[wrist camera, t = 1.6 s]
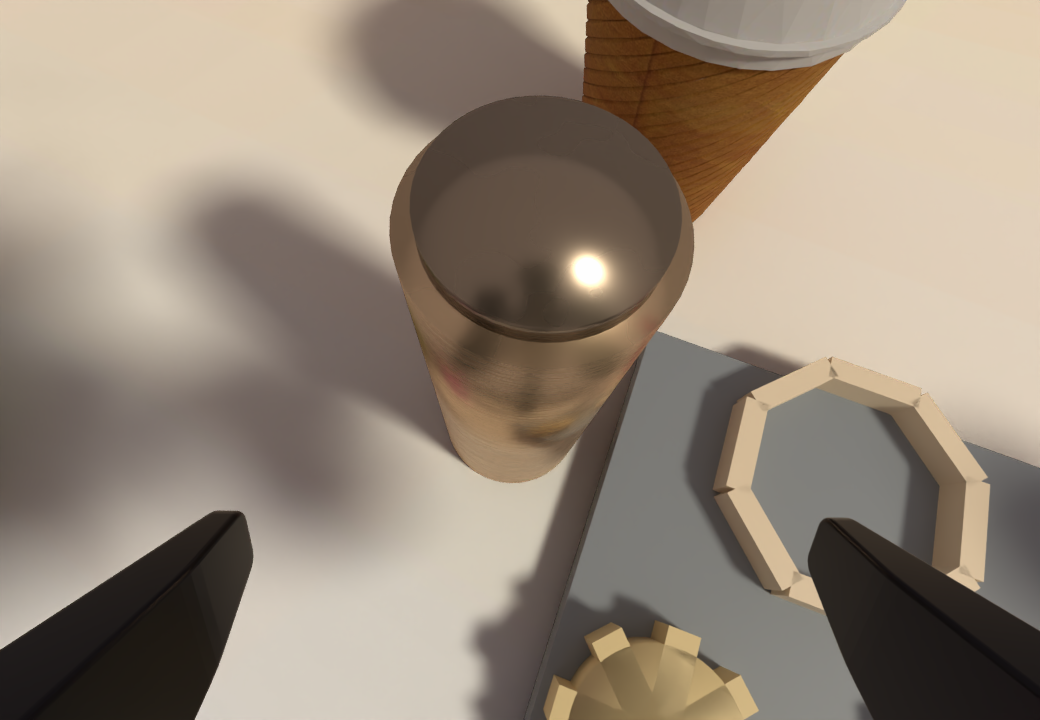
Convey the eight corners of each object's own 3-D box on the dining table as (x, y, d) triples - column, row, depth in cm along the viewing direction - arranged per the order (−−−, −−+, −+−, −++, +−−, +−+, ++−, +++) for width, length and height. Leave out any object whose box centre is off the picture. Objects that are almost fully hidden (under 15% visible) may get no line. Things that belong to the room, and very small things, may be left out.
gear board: (1005, 1301, 14) (1119, 1465, 12) (425, 1029, 15) (412, 1123, 13) (1036, 462, 22) (1108, 449, 19) (648, 324, 23) (668, 294, 20)
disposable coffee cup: (678, 72, 28) (808, -260, 17) (787, 220, 25) (1031, -58, 14) (508, 132, 26) (523, -197, 15) (606, 298, 23) (716, 52, 12)
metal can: (486, 508, 20) (481, 416, 7) (424, 392, 21) (329, 144, 9) (601, 442, 21) (772, 261, 8) (535, 335, 22) (597, 40, 10)
